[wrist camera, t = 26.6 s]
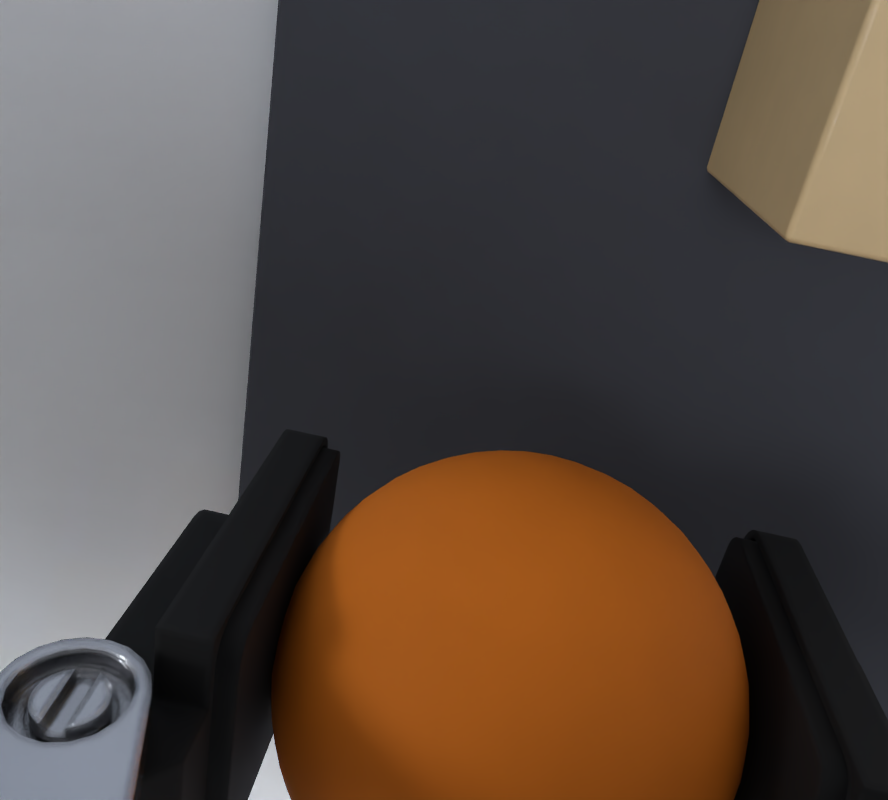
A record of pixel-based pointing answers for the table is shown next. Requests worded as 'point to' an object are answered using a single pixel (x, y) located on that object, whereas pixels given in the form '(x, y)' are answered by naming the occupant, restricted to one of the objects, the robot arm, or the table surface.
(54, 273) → the table surface
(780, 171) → the tan rectangular block
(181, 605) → the robot arm
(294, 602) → the clementine
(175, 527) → the table surface
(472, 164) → the mat
